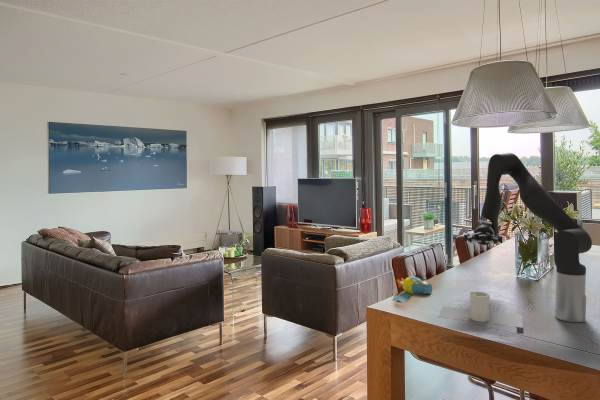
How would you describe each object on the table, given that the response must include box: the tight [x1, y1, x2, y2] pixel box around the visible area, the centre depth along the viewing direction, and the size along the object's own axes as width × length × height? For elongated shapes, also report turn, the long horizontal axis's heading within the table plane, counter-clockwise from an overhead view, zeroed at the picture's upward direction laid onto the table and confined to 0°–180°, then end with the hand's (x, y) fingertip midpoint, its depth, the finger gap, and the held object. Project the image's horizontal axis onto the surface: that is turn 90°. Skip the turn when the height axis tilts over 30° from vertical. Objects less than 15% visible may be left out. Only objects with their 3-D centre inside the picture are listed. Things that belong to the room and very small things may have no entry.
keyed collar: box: [469, 291, 491, 323], centre depth 159 cm, size 7×6×9 cm
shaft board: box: [438, 305, 524, 333], centre depth 161 cm, size 28×14×10 cm, turn 65°
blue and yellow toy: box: [391, 275, 433, 304], centre depth 195 cm, size 28×9×15 cm
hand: (482, 240), depth 169 cm, fingers open, 8 cm apart
